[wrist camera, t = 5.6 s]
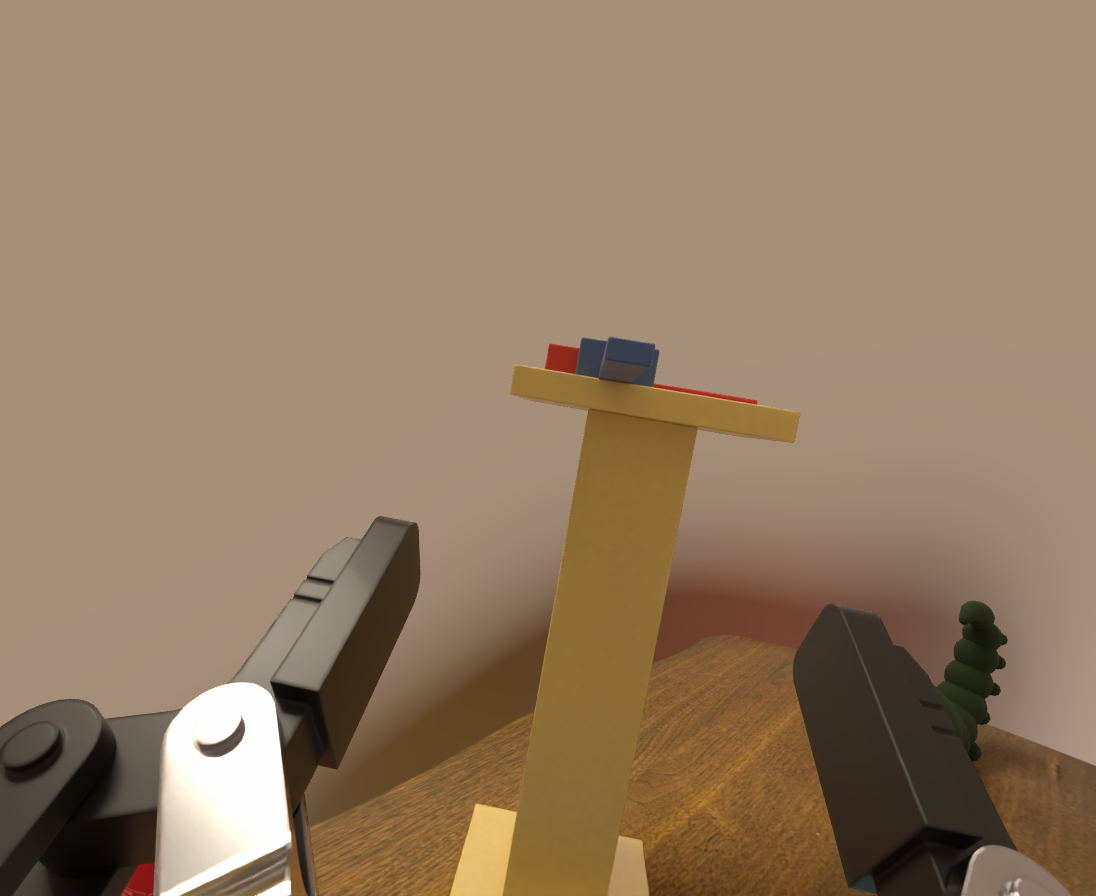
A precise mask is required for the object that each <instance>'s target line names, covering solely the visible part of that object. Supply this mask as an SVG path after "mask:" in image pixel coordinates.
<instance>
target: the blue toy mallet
mask: <svg viewBox="0 0 1096 896" xmlns="http://www.w3.org/2000/svg"><path fill="white" fill-rule="evenodd" d="M658 356H659V350H658V349H655V344H653V343H647V342H640V341H635V340H628V339H623V338H617V337H609V338H608V340H607V341H603V340H597V339H591V338H585V337H583V338H582V339H581V344H580V349H579V355H578V361H577V367H576V372H575V374H576V375H582V376H588V377H594V378H600V379H606V380H612V381H618V382H624V383H630V384H636V385H642V386H648V387H653V384H654V378H655V373H656V367H657V362H658Z"/></svg>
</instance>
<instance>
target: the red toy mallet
mask: <svg viewBox="0 0 1096 896" xmlns="http://www.w3.org/2000/svg"><path fill="white" fill-rule="evenodd" d="M579 349H580V348H574V347H568V346H562V345H556V344H549V348H548V354H547V360H546V366H545V369H547V370H552V371H558V372H564V373H570V374H575V372H576V367H577V361H578V355H579ZM653 387H654V388H660V389H665V390H671V391H677V392H683V393H689V394H695V395H701V396H707V397H713V398H719V399H725V400H731V401H737V402H743V403H749V404H755V405H757V400H751V399H745V398H739V397H733V396H727V395H722V394H716V393H710V392H703V391H698V390H691V389H686V388H679V387H674V386H667V385H662V384H655V383H654V384H653Z"/></svg>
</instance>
